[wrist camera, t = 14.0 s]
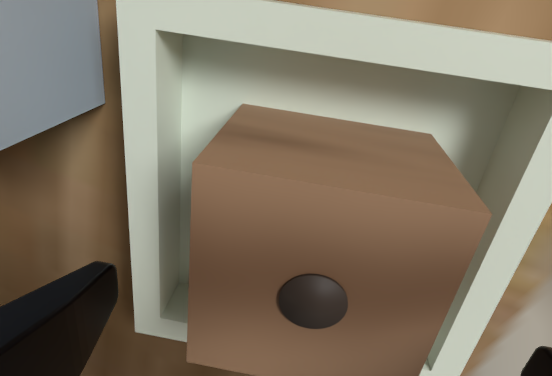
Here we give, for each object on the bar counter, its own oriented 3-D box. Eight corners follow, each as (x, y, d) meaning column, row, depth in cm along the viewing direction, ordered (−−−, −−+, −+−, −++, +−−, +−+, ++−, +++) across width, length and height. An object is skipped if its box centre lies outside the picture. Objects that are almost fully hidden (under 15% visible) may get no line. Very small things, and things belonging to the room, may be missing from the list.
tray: (432, 338, 16) (449, 394, 14) (161, 286, 17) (135, 331, 15) (565, 42, 11) (630, 54, 8) (158, -17, 11) (114, -21, 9)
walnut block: (382, 282, 15) (406, 409, 10) (229, 253, 15) (185, 364, 10) (431, 133, 12) (494, 217, 7) (242, 103, 12) (190, 164, 8)
